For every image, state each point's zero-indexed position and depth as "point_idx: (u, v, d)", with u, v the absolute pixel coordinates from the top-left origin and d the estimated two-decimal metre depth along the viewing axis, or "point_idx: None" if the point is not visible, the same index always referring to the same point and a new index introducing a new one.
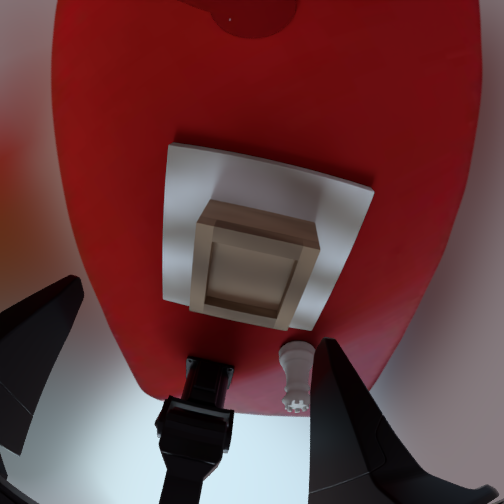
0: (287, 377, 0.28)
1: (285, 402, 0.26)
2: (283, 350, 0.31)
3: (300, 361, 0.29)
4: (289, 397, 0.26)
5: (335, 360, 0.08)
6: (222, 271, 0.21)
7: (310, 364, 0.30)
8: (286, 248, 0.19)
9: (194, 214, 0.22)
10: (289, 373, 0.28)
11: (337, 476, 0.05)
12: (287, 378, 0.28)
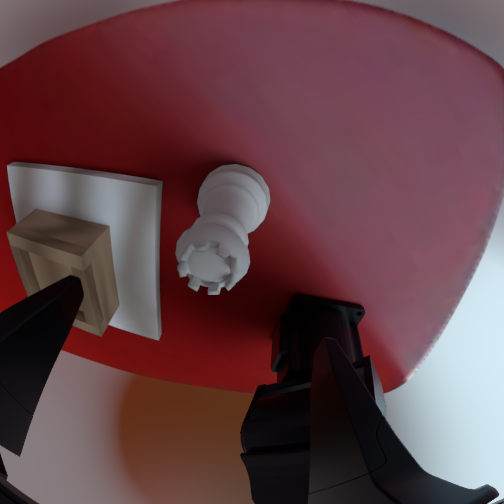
0: None
1: (206, 286, 0.12)
2: None
3: (202, 209, 0.15)
4: None
5: (335, 360, 0.08)
6: None
7: (216, 187, 0.15)
8: (16, 256, 0.16)
9: None
10: None
11: (337, 476, 0.05)
12: None
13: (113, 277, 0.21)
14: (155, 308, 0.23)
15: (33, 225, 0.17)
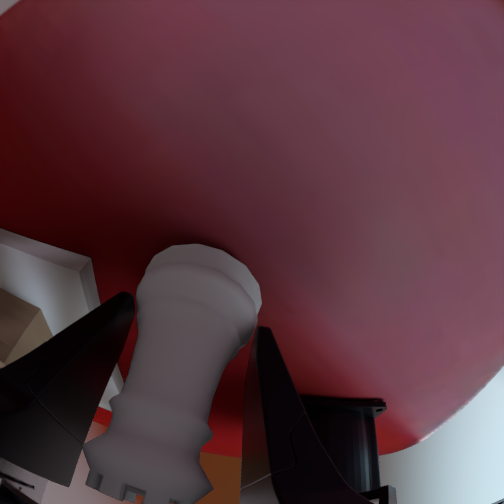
0: None
1: None
2: None
3: None
4: None
5: (263, 349, 0.08)
6: None
7: (156, 304, 0.08)
8: None
9: None
10: None
11: (254, 474, 0.05)
12: None
13: None
14: None
15: None
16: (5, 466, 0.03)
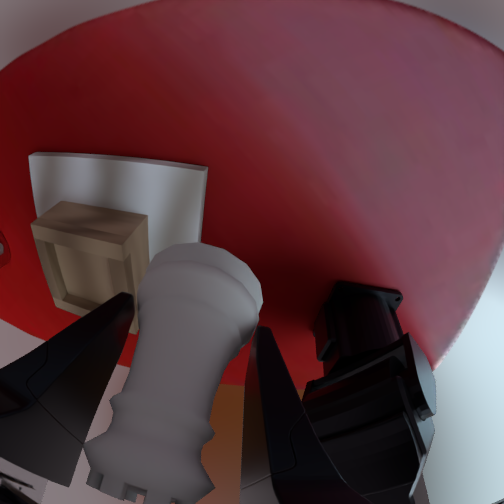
0: None
1: None
2: None
3: None
4: None
5: (263, 349, 0.08)
6: (93, 294, 0.19)
7: (157, 302, 0.08)
8: (40, 250, 0.16)
9: None
10: None
11: (253, 474, 0.05)
12: None
13: None
14: None
15: (61, 216, 0.17)
16: (5, 466, 0.03)
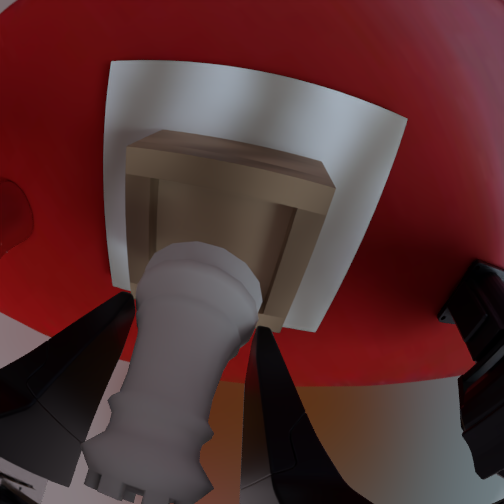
0: None
1: None
2: None
3: None
4: None
5: (263, 349, 0.08)
6: None
7: (156, 301, 0.07)
8: (134, 197, 0.11)
9: None
10: None
11: (253, 474, 0.05)
12: None
13: None
14: (338, 286, 0.18)
15: (183, 142, 0.11)
16: (5, 466, 0.03)
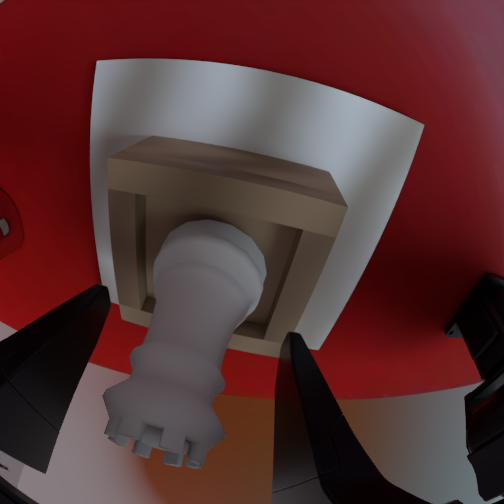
0: None
1: None
2: None
3: (157, 299, 0.09)
4: None
5: (296, 355, 0.08)
6: None
7: (174, 269, 0.09)
8: (118, 215, 0.10)
9: None
10: None
11: (293, 477, 0.05)
12: None
13: None
14: (344, 304, 0.16)
15: (173, 151, 0.10)
16: None
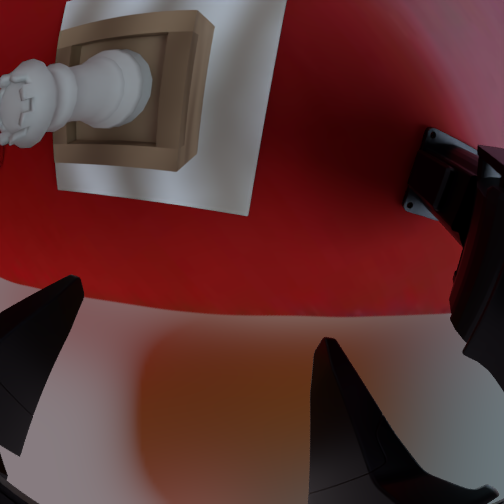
0: None
1: (17, 142, 0.06)
2: None
3: None
4: None
5: (335, 360, 0.08)
6: None
7: None
8: None
9: None
10: None
11: (337, 476, 0.05)
12: None
13: (202, 98, 0.14)
14: (257, 147, 0.16)
15: None
16: None
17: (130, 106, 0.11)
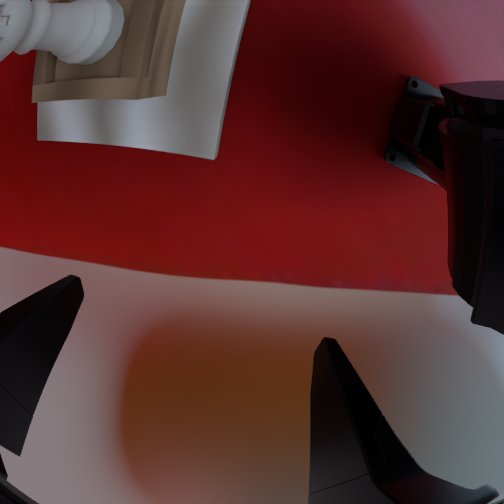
0: (40, 49, 0.07)
1: None
2: None
3: None
4: None
5: (335, 360, 0.08)
6: None
7: None
8: None
9: (82, 108, 0.15)
10: (40, 48, 0.07)
11: (337, 476, 0.05)
12: (39, 49, 0.07)
13: (173, 42, 0.13)
14: (225, 87, 0.14)
15: None
16: None
17: (99, 40, 0.09)
